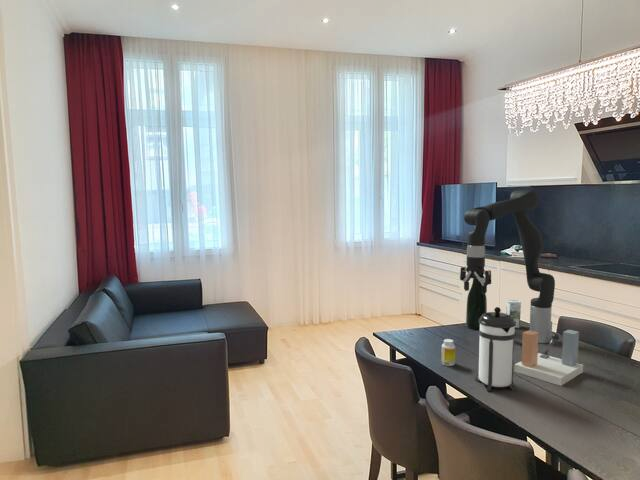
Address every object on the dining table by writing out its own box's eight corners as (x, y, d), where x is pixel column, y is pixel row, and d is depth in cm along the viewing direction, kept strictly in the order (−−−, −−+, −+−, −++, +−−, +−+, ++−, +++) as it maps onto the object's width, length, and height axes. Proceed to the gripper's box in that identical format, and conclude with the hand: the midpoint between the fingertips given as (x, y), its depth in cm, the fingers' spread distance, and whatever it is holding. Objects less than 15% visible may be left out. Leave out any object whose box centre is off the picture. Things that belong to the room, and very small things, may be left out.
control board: (514, 371, 183) (514, 362, 182) (537, 359, 195) (538, 351, 195) (560, 385, 169) (561, 376, 168) (582, 372, 181) (583, 363, 181)
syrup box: (516, 325, 245) (517, 299, 244) (520, 328, 239) (521, 301, 238) (505, 325, 246) (506, 299, 244) (509, 328, 240) (509, 301, 238)
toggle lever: (541, 352, 189) (552, 333, 185) (544, 350, 191) (555, 331, 187) (547, 356, 188) (558, 337, 183) (550, 354, 189) (561, 335, 185)
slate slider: (561, 363, 182) (563, 332, 181) (567, 360, 185) (568, 329, 184) (572, 366, 179) (573, 334, 178) (577, 363, 182) (579, 331, 181)
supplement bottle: (457, 365, 190) (458, 341, 189) (447, 367, 188) (448, 343, 187) (448, 360, 195) (449, 337, 194) (438, 362, 193) (438, 339, 192)
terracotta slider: (521, 364, 182) (522, 332, 180) (527, 361, 185) (528, 330, 183) (531, 367, 179) (532, 335, 177) (537, 363, 182) (538, 332, 180)
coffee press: (523, 383, 171) (526, 306, 168) (507, 397, 160) (510, 314, 156) (479, 371, 183) (481, 299, 180) (461, 383, 171) (463, 306, 168)
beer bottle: (462, 327, 243) (463, 266, 239) (472, 323, 250) (473, 264, 246) (480, 331, 235) (482, 268, 232) (490, 327, 242) (491, 266, 239)
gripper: (495, 256, 192) (494, 293, 193) (467, 253, 203) (466, 288, 205) (484, 258, 187) (483, 296, 189) (456, 254, 199) (456, 290, 201)
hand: (475, 292), depth 197 cm, fingers open, 8 cm apart
